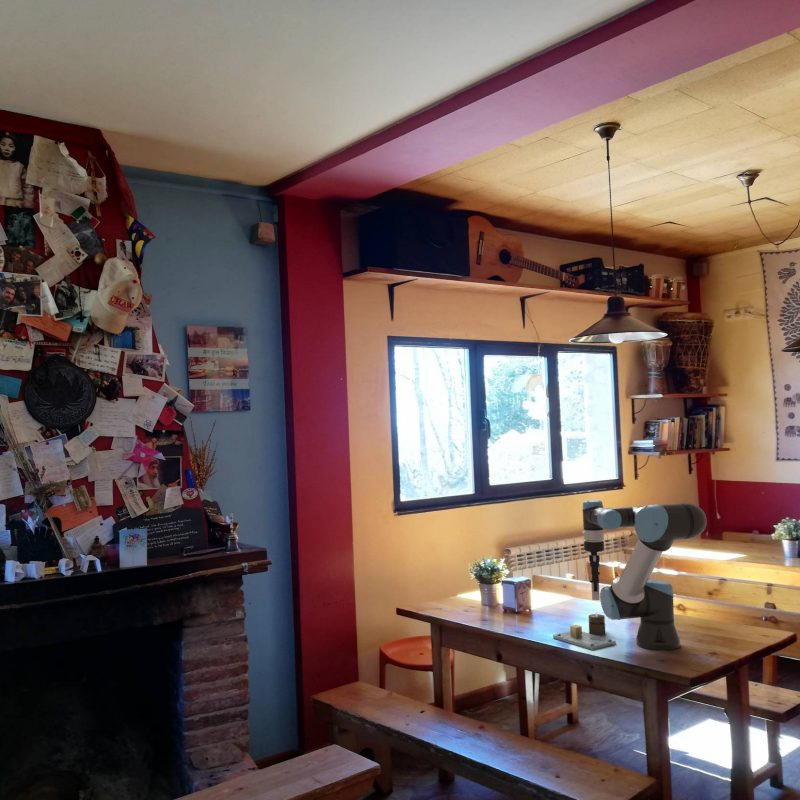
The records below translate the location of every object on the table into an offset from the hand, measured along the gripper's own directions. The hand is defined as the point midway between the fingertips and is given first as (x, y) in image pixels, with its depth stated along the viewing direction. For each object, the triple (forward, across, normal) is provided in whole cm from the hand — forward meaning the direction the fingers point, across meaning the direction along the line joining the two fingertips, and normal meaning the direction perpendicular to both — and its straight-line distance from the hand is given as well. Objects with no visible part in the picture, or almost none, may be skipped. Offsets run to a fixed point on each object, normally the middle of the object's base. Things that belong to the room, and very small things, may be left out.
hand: (595, 595), depth 305 cm
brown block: (+14, 0, 0) cm, 14 cm away
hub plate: (+14, +12, -5) cm, 19 cm away
